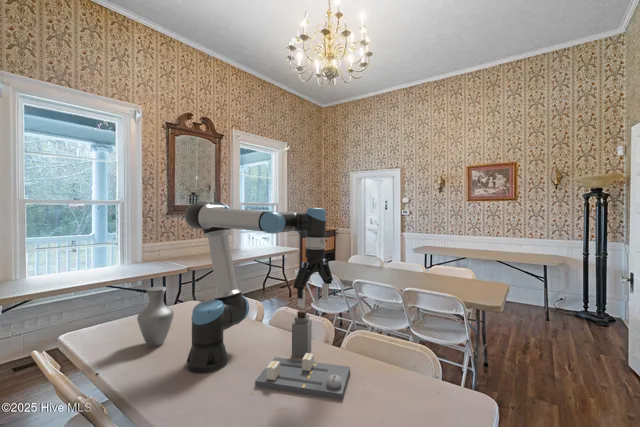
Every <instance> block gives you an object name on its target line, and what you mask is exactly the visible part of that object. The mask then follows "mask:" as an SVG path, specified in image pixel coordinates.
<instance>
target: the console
mask: <svg viewBox="0 0 640 427" xmlns="http://www.w3.org/2000/svg"><path fill="white" fill-rule="evenodd" d="M272 361H279V362H280V374H279V375H278V376H277V378H276V379H275V380H270V379H267V366H266V367H265V368H264V370H263V371H262V372H261V373H260V375H258V377H257V378H256V379H255V382H254V387H255V388H263V389H267V390H268V389H269V390H275V391H282V392H288V393H295V394H301V395H307V396H312V397H319V398H326V399H332V400H333V399H334V400H339V401H342V400H343V399H344V395H345V391H346V388H347V386H348V385H347V384H348V381H349V376H350V373H351V366H346V365H339V364H331V363H324V362H315V361H314V365H313V367H312V368H311V370H310V371H306V370H302V359H301V360H300V359H292V358H285V357H274V358H273V359H272V360H271V361H270V363H271V362H272Z"/></svg>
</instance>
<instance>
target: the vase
mask: <svg viewBox="0 0 640 427" xmlns="http://www.w3.org/2000/svg"><path fill="white" fill-rule="evenodd" d="M166 290H167V287H166V286H160V285H159V286H152V287H148V288H146V289H145V292H146V293H147V296H148V304H147V306H146V307H145V308H144V309H143V310H141V311H140V312H139V313H138V314H137V317H136V319H137V324H138V326H139V330H140V333H141V336H142V337H143V340H144V342H145V344H146V345H147V347H149V348H156V347H159V346H162V345H164V343H165V341H166V338H167V336H168V334H169V331H170V328H171V325H172V322H173V319H174V315H175V313H174V310H173V309H172V308H171V307H169V306H168V305H166V304H165V302H164V297H165V296H164V295H165V293H166Z"/></svg>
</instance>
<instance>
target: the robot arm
mask: <svg viewBox="0 0 640 427" xmlns="http://www.w3.org/2000/svg"><path fill="white" fill-rule="evenodd" d="M184 212H185V213H184V219H185V222H186V224H187V225H188V226H189V227H190V228H192V229H194V230H202V232H203V236H205V237H206V238H207V241H208V246H209V252H210V259H211V264H212V270H213V271H212V272H213V276H214V282H215V289H216V294H215V295H214V297H213V299H209V300H204V301H202V302H199V303H197V304H196V305H195V306H194V307H193V308H192V314H191V347H190V350H189V353H188V355H187V359H186V369H187V370H188V371H189V372H191V373H195V374H207V373H212V372H215V371H218V370H221V369H222V368H224V367H225V366H227V364H228V362H229V361H228V360H229V357H228V353H227V349H226V346H225V344H224V331H225V330H227V329H230V328H232V327H235V326H236V325H238V324H240V323H241V322H242V321H244V320H246V318H247V316H248V314H249V311H250V304H249V301H248V298H246V296H244V295H243V293H242V290H241V289H239V288H238V286H237V280H236V279H237V278H236V275H235V274H236V273H235V267H234V262H233V261H234V260H233V255H232V250H231V243H230V239H229V234H230V232H231V231H232V230H233V229H234V230H244V231H255V232H265V233H267V234H272V235H273V234H279V233H291V232H300V233H301V232H302V233H305V247H306V248H305V259H306V262H305V261H300V263H299V268H298V272H297V275H296V277H295V281H294V283H293V287H292V288H293V289H296V290H297V293H296V294H297V307H298V308H302V309H304V308H306V305H305V304H306V289H305V287H306V286H307V283H308V281H309V280H310V278H311V276H313V274H316V273H318V275H319V277H320V278H321V280H322V283H321V300H324V301H328V300H329V290H330V285H331V284H332V282H333V281H334V280H333V275H332V271H331V269H330V264H329V263H330V262H329V259H327V258H325V257H326V249H325V247H326V228H327V210H326V209H325V208H322V207H320V208H319V207H308V208H307V209H306V212H293V211H291V212H290V211H271V210H270V211H268V210H267V211H266V210H265V211H264V210H253V209H240V208H239V209H238V208H236V209H235V208H231V207H230V206H229V205H228V204H226V203H222V202H219V201H217V202H209V201H196V202H193V203H191V204H190V205H188V206H187V208H186V210H185V211H184Z"/></svg>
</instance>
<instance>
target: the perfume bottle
mask: <svg viewBox="0 0 640 427" xmlns="http://www.w3.org/2000/svg"><path fill="white" fill-rule="evenodd" d="M307 312H308V310H307V309H298V311H297V313H296V315H295V317H294V320H293V322H292V323H291V357H295V358H301V359H303V357H304V355H305V354H306V353H312V324H313V323H312V319H310V314H307Z"/></svg>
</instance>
